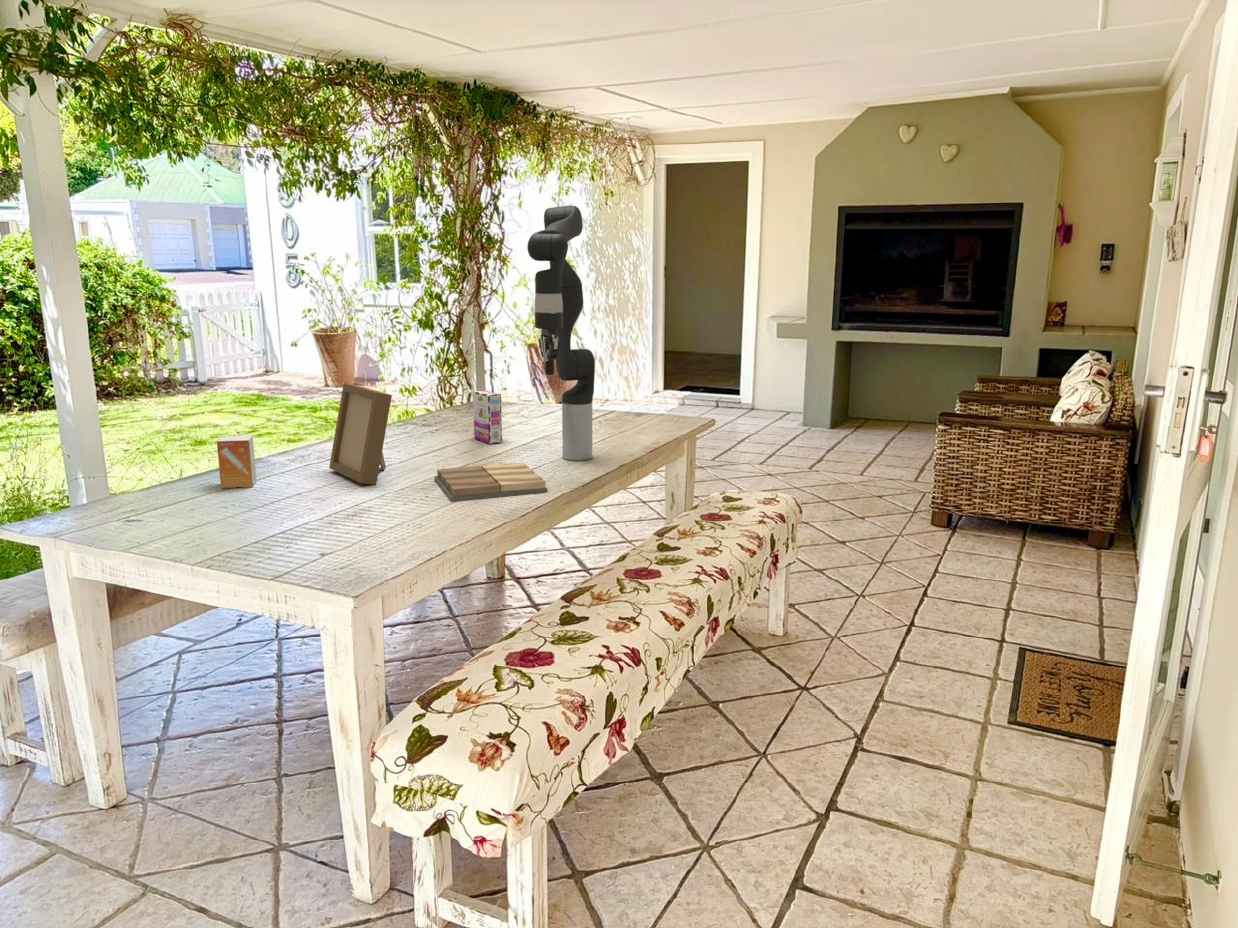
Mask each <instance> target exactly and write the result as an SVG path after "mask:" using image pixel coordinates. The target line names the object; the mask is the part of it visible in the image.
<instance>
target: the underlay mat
mask: <svg viewBox="0 0 1238 928" xmlns="http://www.w3.org/2000/svg"><path fill="white" fill-rule="evenodd" d="M433 477H434V478H433V479H434V482H435V483H436V484H437V485H438V487H439V488H440V490H441V491H442V492H443V493H444V494H445V496H446V497H447V499H448V500H449V501H450V502H459V501H460V502H461V501H470V500H481V499H492V498H500V497H510V496H520V495H521V496H523V495H530V494H533V495H534V494H541V493H548V487H546V488H541V489H529V490H518V491H506V492H501V491H500V492H499V493H489V494H479V495H468V496H458V497H453V495H452V494H451V493H450V492H449V490H448V489H447V488H446V487H445V485H444V484H443V483H442V481H441V480H440V479H439V478H438V475H435V476H433ZM491 497H492V498H491Z"/></svg>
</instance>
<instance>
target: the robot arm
mask: <svg viewBox="0 0 1238 928" xmlns="http://www.w3.org/2000/svg"><path fill="white" fill-rule="evenodd" d="M543 226H544V229H543V230H539V231H535V232H534V233H532V234H531V235H530V237H529V239H528V242H527V247H526V248H527V253H528V256H529V257H530V258H531V259H532V260H534V261H535V262H537V261H538V262H549V268H548V269H542V270H539V271H536V273H535V277H534V284H535V285H534V287H535V288H534V289H535V294H534V295H535V297H534V328H536V329H538V330H541V332H540V336H539V338H538V339H537V342H538V346H539V350H540V354H541V358H542V359H543V361H544V374H545V375H547V376H553V375H554V374H555V367H556V372H557V375H558V378H559V379H560V380H561V381H564V382H565V381H566V382H571V381H576V383H575V385H574V386H573V387H571V388H569V389H568V390H566V391H564V392H563V393H562V395H561V403H562V404H561V413H562V416H561V417H562V418H561V420H562V421H561V422H562V423H561V424H562V425H561V426H562V429H561V430H562V433H561V434H562V440H561V441H562V447H561V448H562V459H565V460H567V461H587V460H591V459H592V458H593V398H594V397H593V396H594V391H595V376H596V375H595V374H596V362H595V356H594V353H593V352H592V350H590V349H588V348H575V349H571V347H572V346H571V340H572V332H573V330H574V328H575V324H576V323H577V321H578V319H579V316H580V314H581V313H582V310H583V307H584V292H583V283H582V280H581V278H580V276H579V274H577V272H576V271H575V270H574V268H573V267H572V266H571V264H570V263H569V262H568V261H567V260H568V259H567V254H568V251H569V241H571V240H573V239H574V238H577V237H578V236H581V233H582V232H583V228H584V227H583V215H582V213H581V210H580V209H579V207H578V206H576V205H571V204H570V205H562V206H555V207H549V208H546V209H545V210H544V214H543Z"/></svg>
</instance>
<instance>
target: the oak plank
mask: <svg viewBox="0 0 1238 928" xmlns="http://www.w3.org/2000/svg"><path fill="white" fill-rule="evenodd" d="M480 466H481V467H482V468H483V469H484V470H485V471H486V472H487V473H488V474H489V475H490V476H491V477H492V478H493V479H494V480H495V481H496V482H497V483H498V484H499V485H500V491H501V492H506V491H518V490H529V489H541V488H547V487H546V484H547V483H546V480H545V479H544V478H542V477H541V476H540V475H539V474H538V473H536V472H535V471H534V470H532V469H531V468H530V467H529V466H527V465H526V464H525V463H524V462H515V463H514V462H513V463H512V462H510V463H499V464H489V465H488V464H487V465H480Z"/></svg>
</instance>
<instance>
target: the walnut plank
mask: <svg viewBox="0 0 1238 928" xmlns="http://www.w3.org/2000/svg"><path fill="white" fill-rule="evenodd" d="M481 466H482V465H473V466H463V467H451V468H450V467H449V468H439V469H438V468H437V469H436V470H437V474H436V476H438V478H439V479H440V480H441V481H442V483H443V484H444V485H445V487H446V488H447V489H448V490H449V492H450V493H451V494H452V495H453V497H458V496H468V495H479V494H489V493H499V492H500V485H499V484H498V483H497V482H496V481H495V480H494V479H493V478H492V477H491V476H490V475H489V474H488V473H487V472H486V471H485V470H484V469H483V468H482V467H481Z"/></svg>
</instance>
